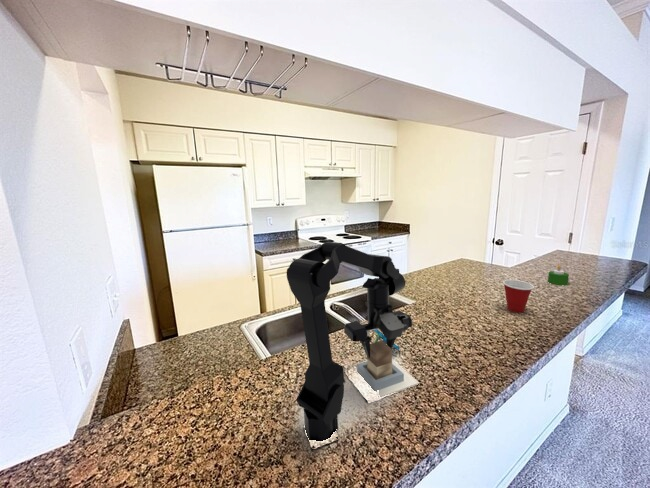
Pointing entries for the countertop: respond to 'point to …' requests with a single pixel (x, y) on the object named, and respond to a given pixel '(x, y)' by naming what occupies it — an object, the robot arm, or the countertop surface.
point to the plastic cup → (517, 294)
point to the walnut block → (380, 354)
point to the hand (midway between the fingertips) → (379, 353)
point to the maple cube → (379, 370)
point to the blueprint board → (388, 379)
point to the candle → (558, 277)
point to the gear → (383, 338)
